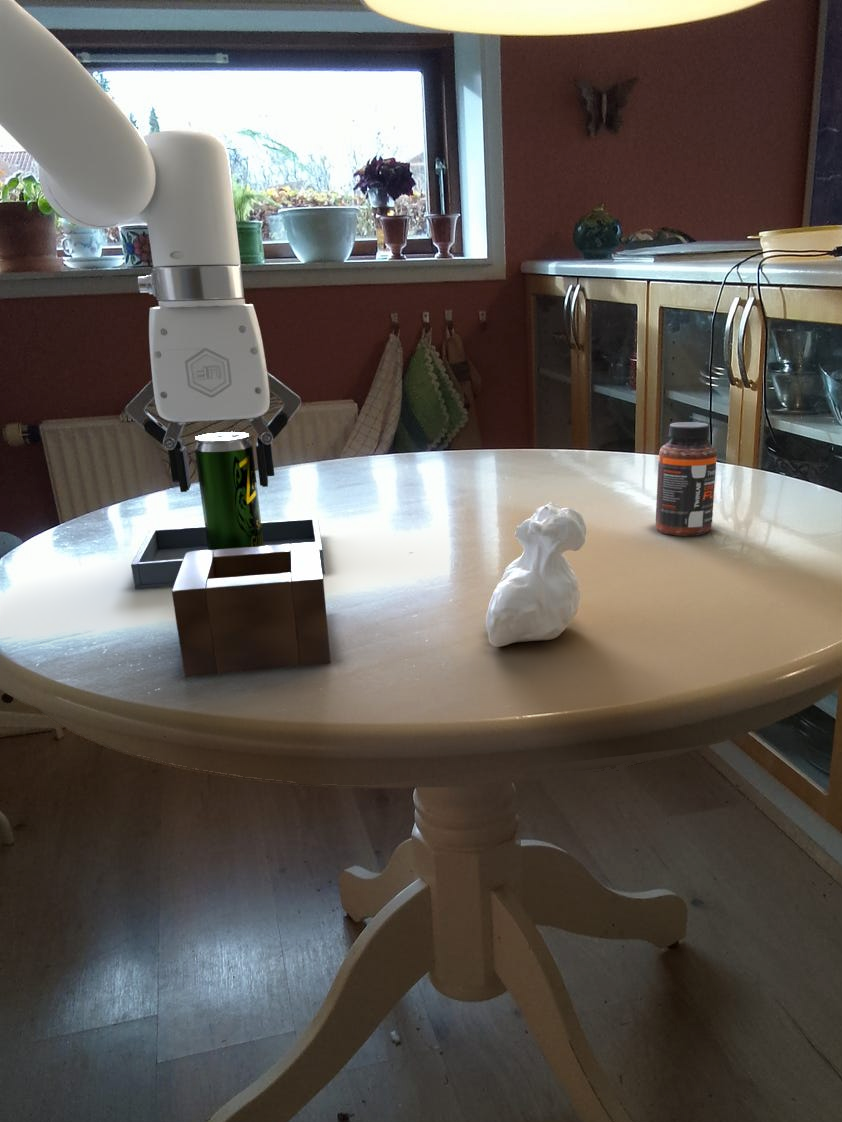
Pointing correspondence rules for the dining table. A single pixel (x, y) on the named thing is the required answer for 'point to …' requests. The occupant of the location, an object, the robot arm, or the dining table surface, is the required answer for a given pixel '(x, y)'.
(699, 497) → the supplement bottle
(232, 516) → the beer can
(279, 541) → the tray
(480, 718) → the dining table surface
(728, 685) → the dining table surface
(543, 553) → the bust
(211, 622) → the can holder
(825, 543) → the dining table surface
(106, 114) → the robot arm
